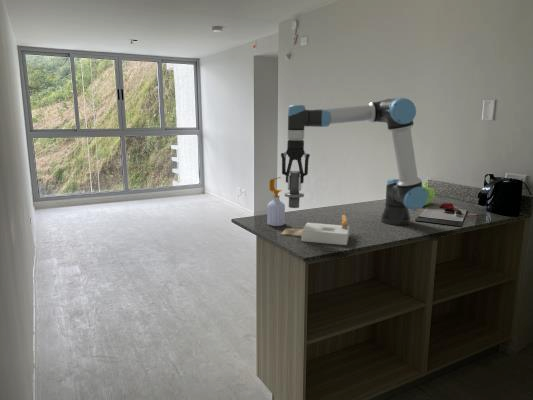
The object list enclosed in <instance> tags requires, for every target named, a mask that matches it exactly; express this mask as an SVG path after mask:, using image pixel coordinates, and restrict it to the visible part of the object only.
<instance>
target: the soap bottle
mask: <svg viewBox="0 0 533 400" xmlns="http://www.w3.org/2000/svg"><path fill="white" fill-rule="evenodd" d="M280 178H282V177H281V176H279V177H275V178H271V179H270V180H269V192H273V194H274V195H273V196H272V200H270V202H268V203H267V208H266V209H267V210H266V211H267V212H266V218H267V219H266V224H267V225H268V226H270V225H271V227H282V226H284V225H285V223H286V222H285V217H286V216H285V215H286V213H285V212H286V205H285V203H284V202H283V201H281V200H280V195H279V193H280V192H283V191H282V190H281V189H277V188H275V181H276V180H277V179H280Z"/></svg>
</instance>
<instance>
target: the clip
mask: <svg viewBox="0 0 533 400" xmlns="http://www.w3.org/2000/svg"><path fill="white" fill-rule="evenodd" d="M341 220H342V221H341V225H347V226H348V221H347V217H346V214H342V216H341Z"/></svg>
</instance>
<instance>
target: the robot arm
mask: <svg viewBox="0 0 533 400" xmlns="http://www.w3.org/2000/svg"><path fill="white" fill-rule="evenodd" d="M416 116H417V107H416V105H415V103H414V102H413V101H412V100H410V99H409V98H404V97H396V98H395V97H394V98H386V99H383V100H379V101H373V102H369V103H368V104H363V105H362V104H361V105H352V106H344V107H342V106H340V107H332V108H331V107H329V108H321V109H306V106H305V105H303V104H301V105H300V104H291V105H289V106H288V112H287V142H286V143H287V144H286V145H287V146H286V148H287V149H286V151H285V152H281V153H280V157H281V174H282V175H284V176H285V182H286V183H287V191H290V171H292V170H291V168H292V165H293V161H296V162H297V164H298V165H297V166H298V169H299V170H298V171H300V176H299V188H298V191H299V192H300V191H302V184H304V183H305V182H304V180H305V179H304V178H305V177H306V176H307V175H308V174H309V158H310V156H311V154H310V153H307V152H306V151H305V141H304V139H305V127H306V128H307V127H314V128H315V127H316V128H317V127H318V128H320V127H321V128H326V127H329V126H330V125H332V124H344V123H345V124H346V123H353V122H366V121H368V122H370V123H376V122H377V123H386V124H387V130H388V131H390V132H391V134H392V135H391V136H392V141H393V148H394V154H395V160H396V166H397V167H396V168H397V173H398V178H397V179H396V178H391V179H388V180H387V181H386V191H385V205H384V207H383V211H382V213H381V216H380V221H381V222H382V223H383V224H384V223H385V224H388V225H395V226H407V225H409V224H411V220H412V217H411V215H410V211H409V210H412V211H413V210H419V209H420V210H421V209H422V208H423V207H424V204H425V203H426V202H427V199H428V193H427V191H426V190H425V189H424V188H423V187H422V185H423V182H422V179H421V178H419V177H418V176H419V175H418V170H417V163H416V156H415V150H414V149H415V148H414V141H413V136H412V127H413V126H414V120H415V117H416ZM287 157H288V158H289V159H288V163H287V162H286V161H287V160H286V159H287ZM303 157H304V159H305V160H304V168H303V162H302V158H303ZM286 165H287V166H286Z"/></svg>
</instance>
